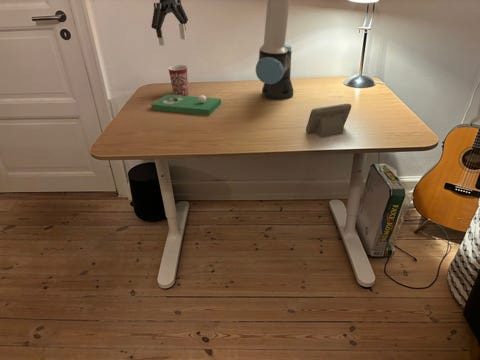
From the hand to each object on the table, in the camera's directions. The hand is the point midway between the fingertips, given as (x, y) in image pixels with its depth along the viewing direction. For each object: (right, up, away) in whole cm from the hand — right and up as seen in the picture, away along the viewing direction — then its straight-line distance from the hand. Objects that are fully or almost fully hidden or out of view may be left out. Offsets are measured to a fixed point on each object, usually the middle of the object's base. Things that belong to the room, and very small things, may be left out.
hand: (173, 42), depth 155 cm
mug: (0, -18, +20) cm, 27 cm away
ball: (+13, -26, -1) cm, 29 cm away
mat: (+6, -28, +4) cm, 29 cm away
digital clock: (+63, -43, -24) cm, 80 cm away
